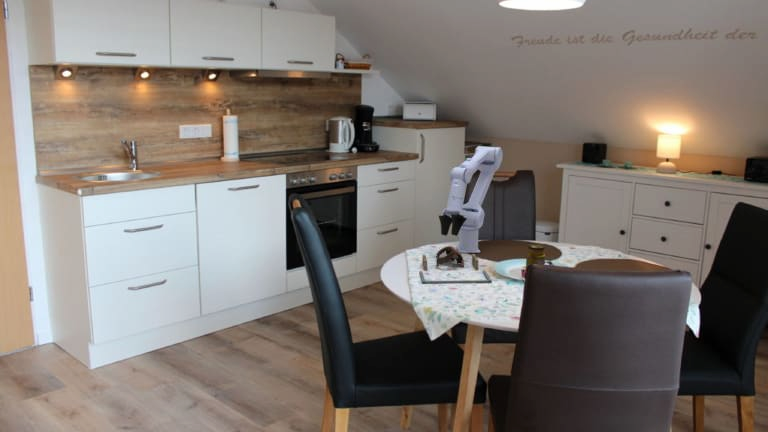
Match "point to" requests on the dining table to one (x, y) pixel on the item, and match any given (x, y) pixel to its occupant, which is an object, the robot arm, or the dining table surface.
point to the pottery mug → (449, 256)
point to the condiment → (535, 255)
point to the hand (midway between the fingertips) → (449, 235)
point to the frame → (457, 281)
